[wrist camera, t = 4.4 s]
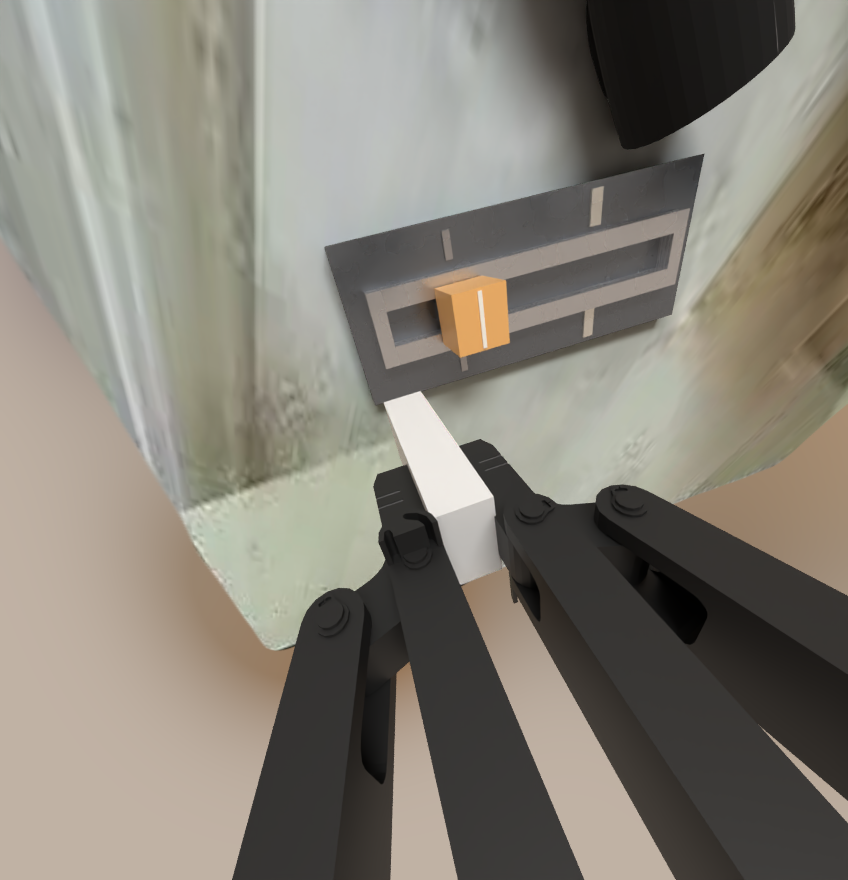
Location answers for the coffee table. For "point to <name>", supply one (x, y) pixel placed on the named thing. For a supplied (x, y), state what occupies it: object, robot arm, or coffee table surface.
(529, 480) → the coffee table surface
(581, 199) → the fader panel
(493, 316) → the fader knob
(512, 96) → the coffee table surface
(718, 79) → the black hourglass-shaped sleeve
